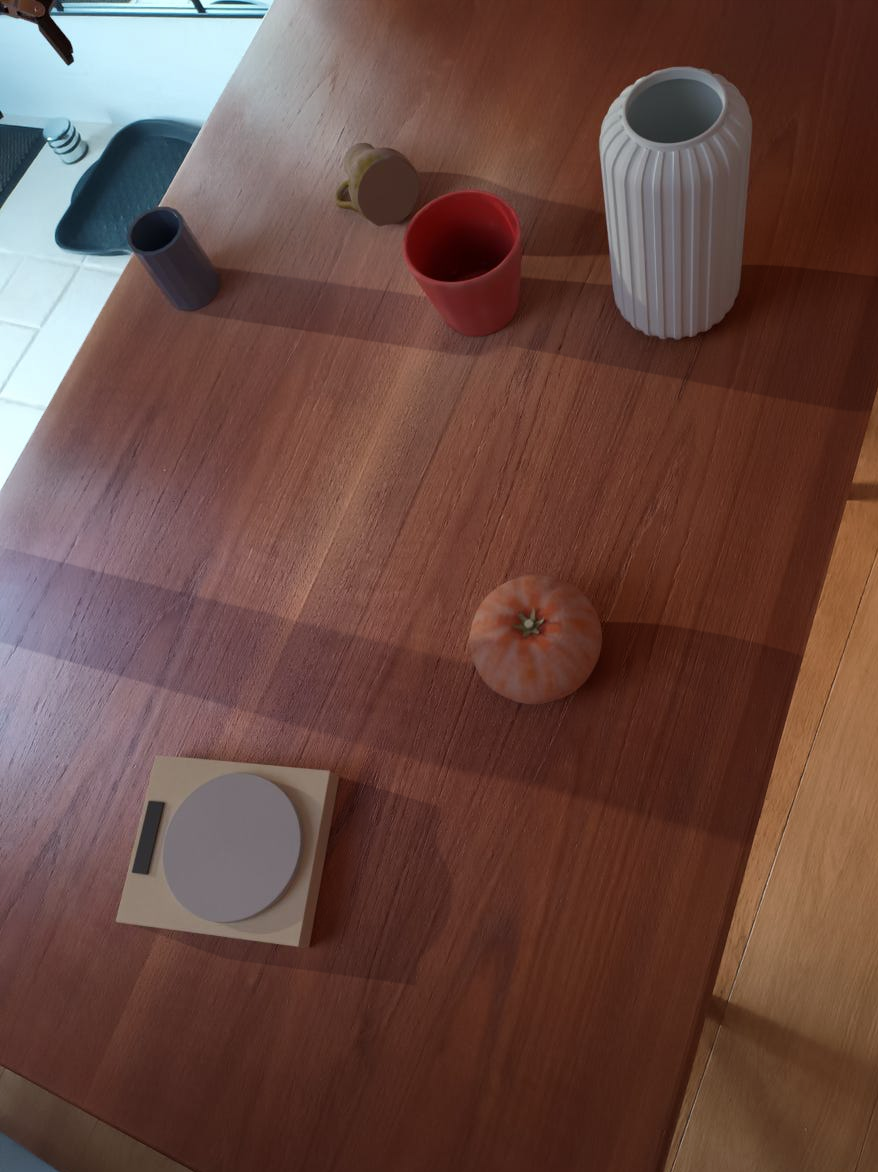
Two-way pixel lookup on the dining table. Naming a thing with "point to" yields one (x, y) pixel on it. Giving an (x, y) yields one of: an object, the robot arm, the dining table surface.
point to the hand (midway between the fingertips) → (35, 89)
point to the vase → (676, 199)
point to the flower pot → (467, 259)
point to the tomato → (535, 639)
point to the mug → (379, 184)
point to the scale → (230, 850)
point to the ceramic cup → (173, 258)
